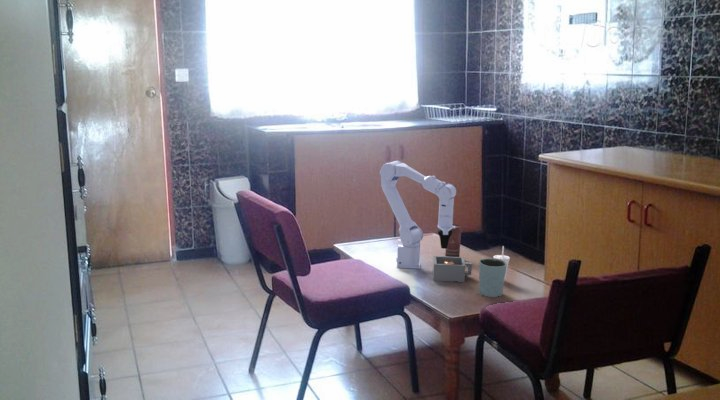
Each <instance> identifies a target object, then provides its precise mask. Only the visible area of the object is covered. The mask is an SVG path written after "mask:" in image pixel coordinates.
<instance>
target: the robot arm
mask: <svg viewBox="0 0 720 400" xmlns="http://www.w3.org/2000/svg"><path fill="white" fill-rule="evenodd" d="M378 172H379V175H380V186H381V189H382V191H383V193H384V196H385V198H386V200H387V202H388V204H389V206H390V208H391V211H392V213H393V214H394V215H393V216H394V217H395V219H396V221H397V223H398V225H399V228H398V233H399V239H400V242H401V243H400V244H397V255H396V260H395V261H396V268H397V269H416V270H417V269H419V270H420V269H421V262H420V258H421V257H420V256H421V241H422V240H423V238H424V232H423V230H422V229H421V228H420V227H419V225H417V223H416V222H415V221H414V220H412V217H411V216H410V213H409V212H408V209H407V208H406V205H405V204H404V201H403V199H402V196H401V195H400V192H399V191H398V189H397V186H396V185H397V182H398V180H399V178H400V177H406V178H409V179H411V180H413V181H415V182H416V183H419V184H421V185H422V188H423V189H424V190H426V191H428V192H430V193H431V194H433V195H436V196H437V198H438V199H439V202H438V216H437V218H438V221H437V228H438V230H437V234H438V237H439V241H440V247H441V249H445V250H446V249H447V246H448V241H449V238H450V236H451V235H452V230H451V229H452V228H455V226H452V225H454V223H453V220H454V205H455V204H454V203H455V196H456V195H457V188H456V187H455V186H454V185H453V184H452V183H446V181H441V180H439V179H438V178H437V176H436V175H428V176H425V174H422V173H420V172H419V171H417V170H416V169H415V168H413V167H410V166H409V165H408V164H407V163H405V162H402V161H400V160H393V161H391V162H386V163H384V164H382V166H381V168H380V171H378Z"/></svg>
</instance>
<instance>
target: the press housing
mask: <svg viewBox="0 0 720 400" xmlns="http://www.w3.org/2000/svg"><path fill="white" fill-rule="evenodd" d="M444 261H452V262H454V265H452V264H444ZM466 266H467V270H466ZM472 267H473V264H472V262H471V261H470V262H469V261H465V258H464V257H463V256H459V257H447V256H445V255H444V256H441V255H433V259H432V280H433V281H439V282H453V281H458V282H459V283H465V281H466V280H465V279H466V277H465V276H472ZM458 282H457V283H458Z"/></svg>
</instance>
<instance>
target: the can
mask: <svg viewBox="0 0 720 400" xmlns="http://www.w3.org/2000/svg"><path fill="white" fill-rule="evenodd" d="M452 226H455V228H452V229H451V230H452V235H451V236H450V238H449V241H448V246H447V249H445V253H444V256H447V257H461V256H460V253H461V238H462V237H461V236H462V232H463V231H462V227H461V225H458V224H452Z"/></svg>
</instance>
